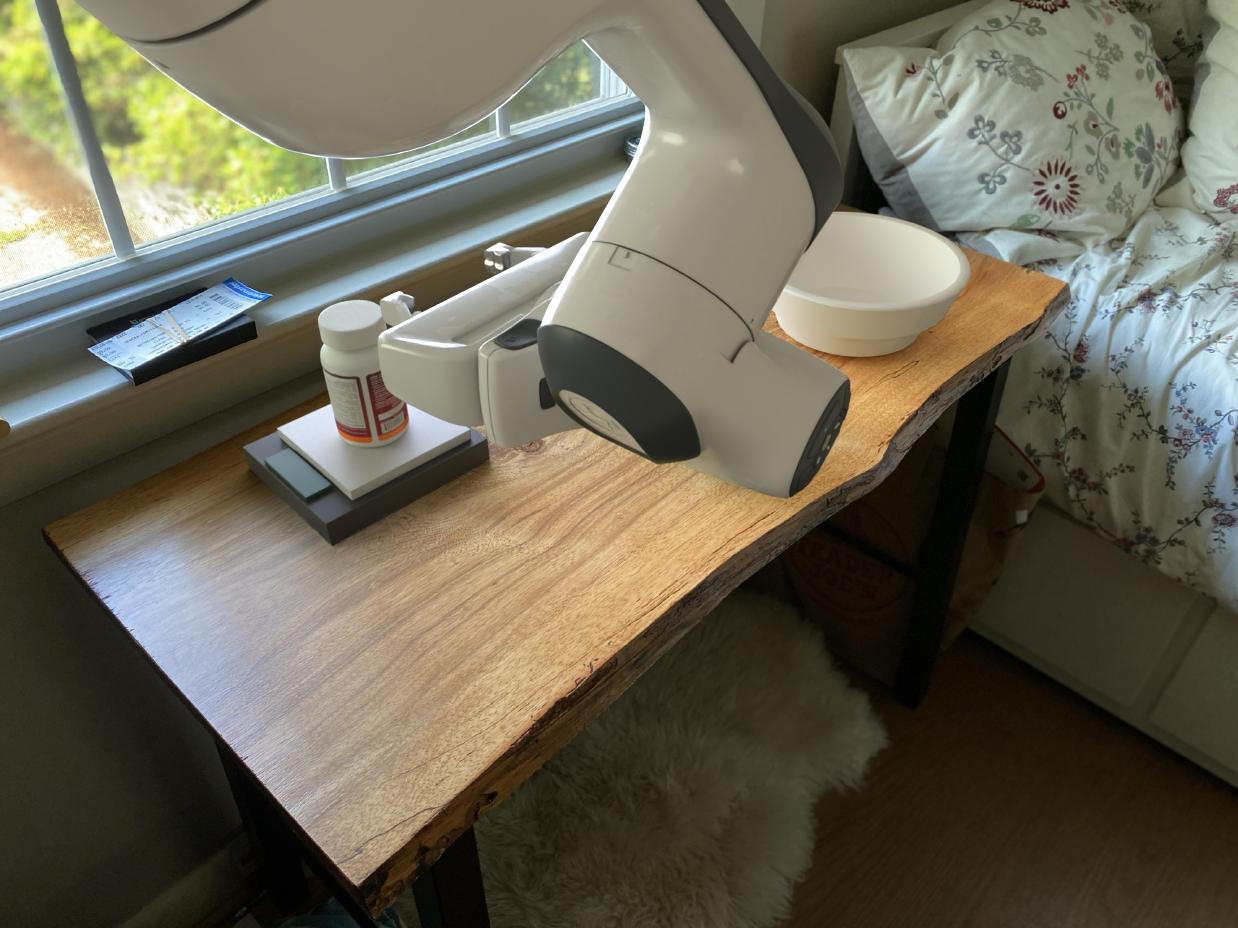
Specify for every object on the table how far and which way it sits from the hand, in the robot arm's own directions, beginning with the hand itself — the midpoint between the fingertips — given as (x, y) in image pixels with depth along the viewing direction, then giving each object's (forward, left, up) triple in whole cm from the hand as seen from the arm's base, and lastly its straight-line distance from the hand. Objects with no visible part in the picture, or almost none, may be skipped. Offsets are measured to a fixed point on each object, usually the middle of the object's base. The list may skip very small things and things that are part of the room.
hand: (442, 279), depth 64 cm
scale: (-2, +12, -22) cm, 25 cm away
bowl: (+48, -3, -22) cm, 53 cm away
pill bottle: (-1, +12, -18) cm, 22 cm away
